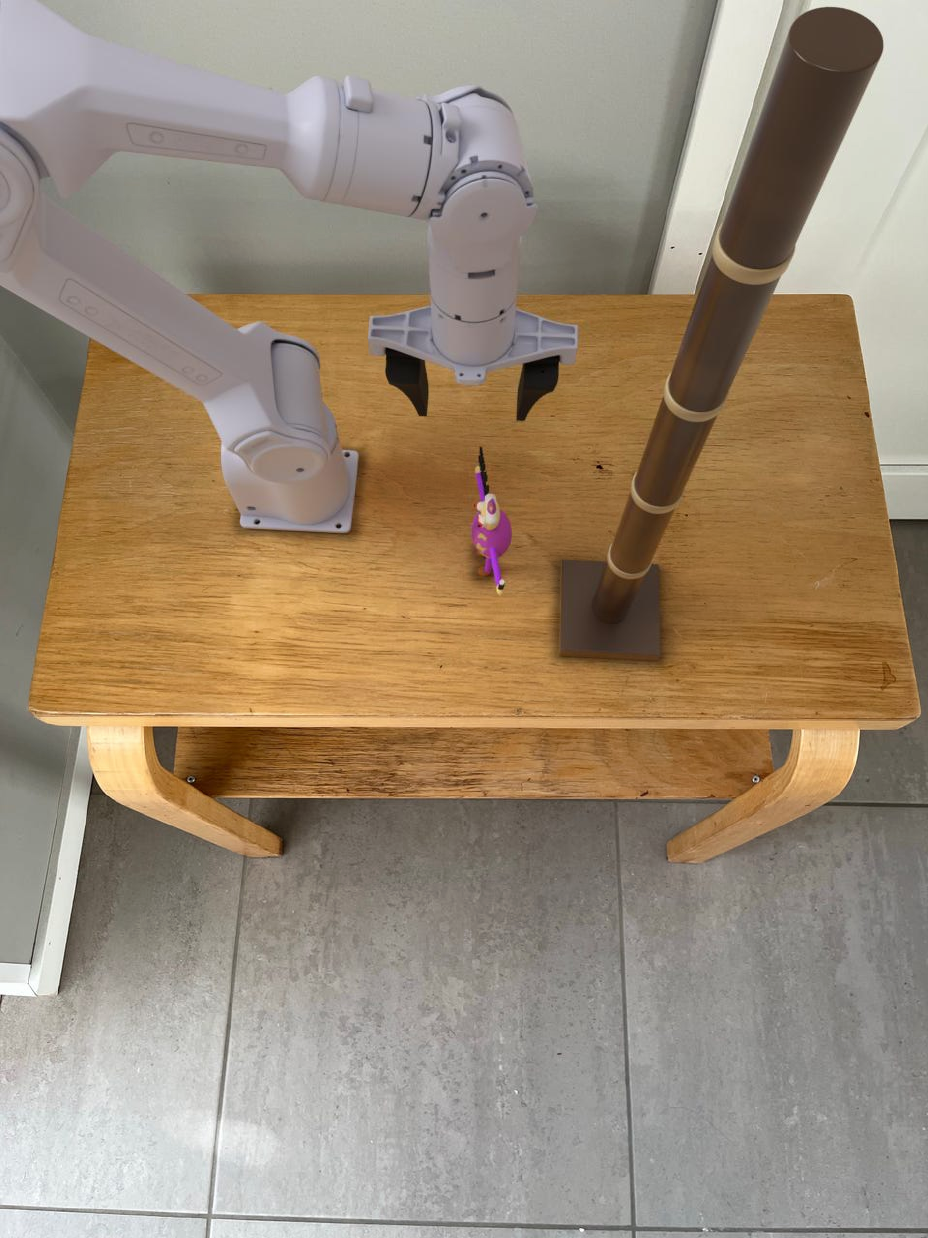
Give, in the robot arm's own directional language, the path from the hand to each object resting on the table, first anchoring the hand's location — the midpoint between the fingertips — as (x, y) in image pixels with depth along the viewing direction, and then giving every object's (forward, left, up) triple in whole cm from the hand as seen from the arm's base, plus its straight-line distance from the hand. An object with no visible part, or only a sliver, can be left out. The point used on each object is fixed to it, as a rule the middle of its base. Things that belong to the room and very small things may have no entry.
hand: (472, 407), depth 72 cm
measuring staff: (+12, -13, -9) cm, 20 cm away
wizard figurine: (+2, -9, -10) cm, 13 cm away
